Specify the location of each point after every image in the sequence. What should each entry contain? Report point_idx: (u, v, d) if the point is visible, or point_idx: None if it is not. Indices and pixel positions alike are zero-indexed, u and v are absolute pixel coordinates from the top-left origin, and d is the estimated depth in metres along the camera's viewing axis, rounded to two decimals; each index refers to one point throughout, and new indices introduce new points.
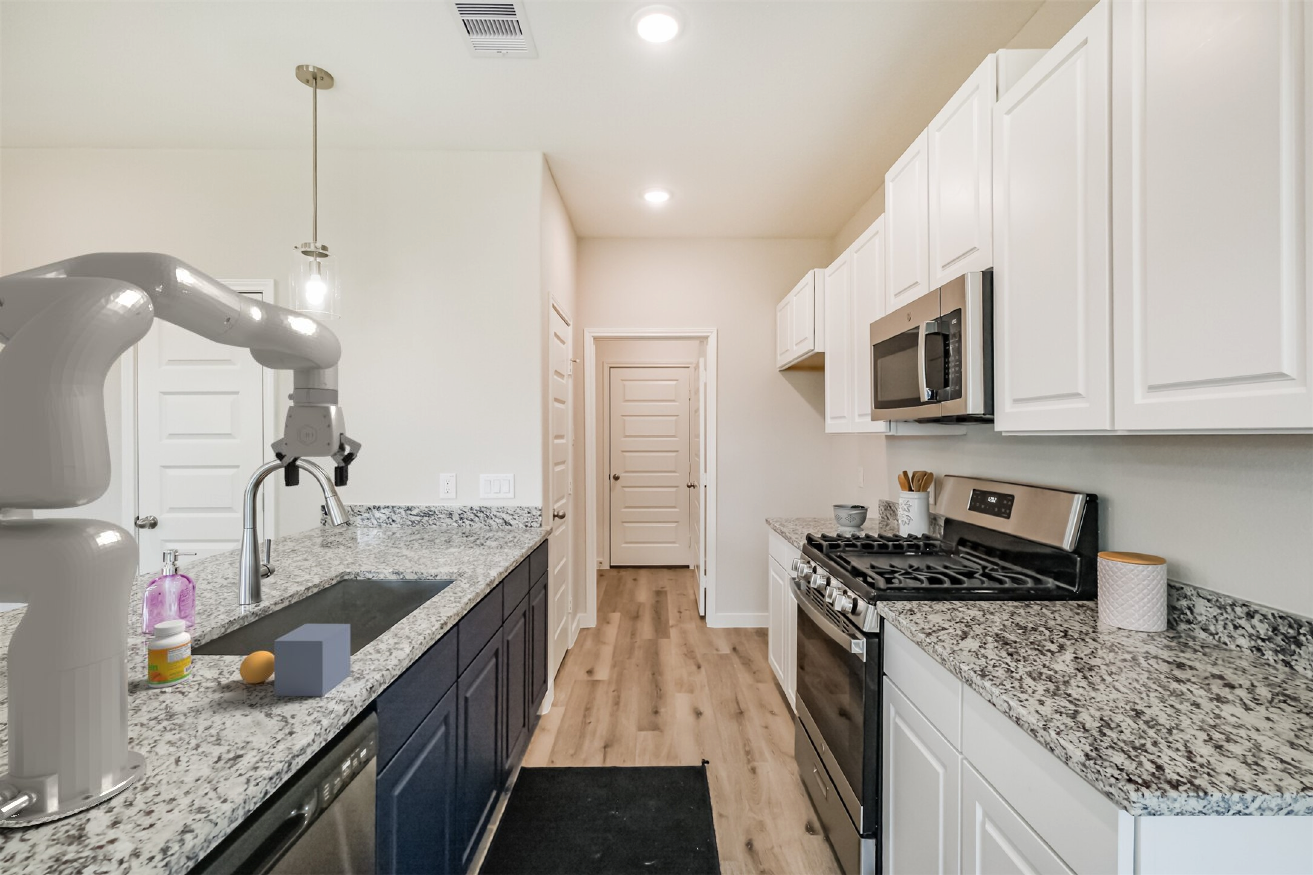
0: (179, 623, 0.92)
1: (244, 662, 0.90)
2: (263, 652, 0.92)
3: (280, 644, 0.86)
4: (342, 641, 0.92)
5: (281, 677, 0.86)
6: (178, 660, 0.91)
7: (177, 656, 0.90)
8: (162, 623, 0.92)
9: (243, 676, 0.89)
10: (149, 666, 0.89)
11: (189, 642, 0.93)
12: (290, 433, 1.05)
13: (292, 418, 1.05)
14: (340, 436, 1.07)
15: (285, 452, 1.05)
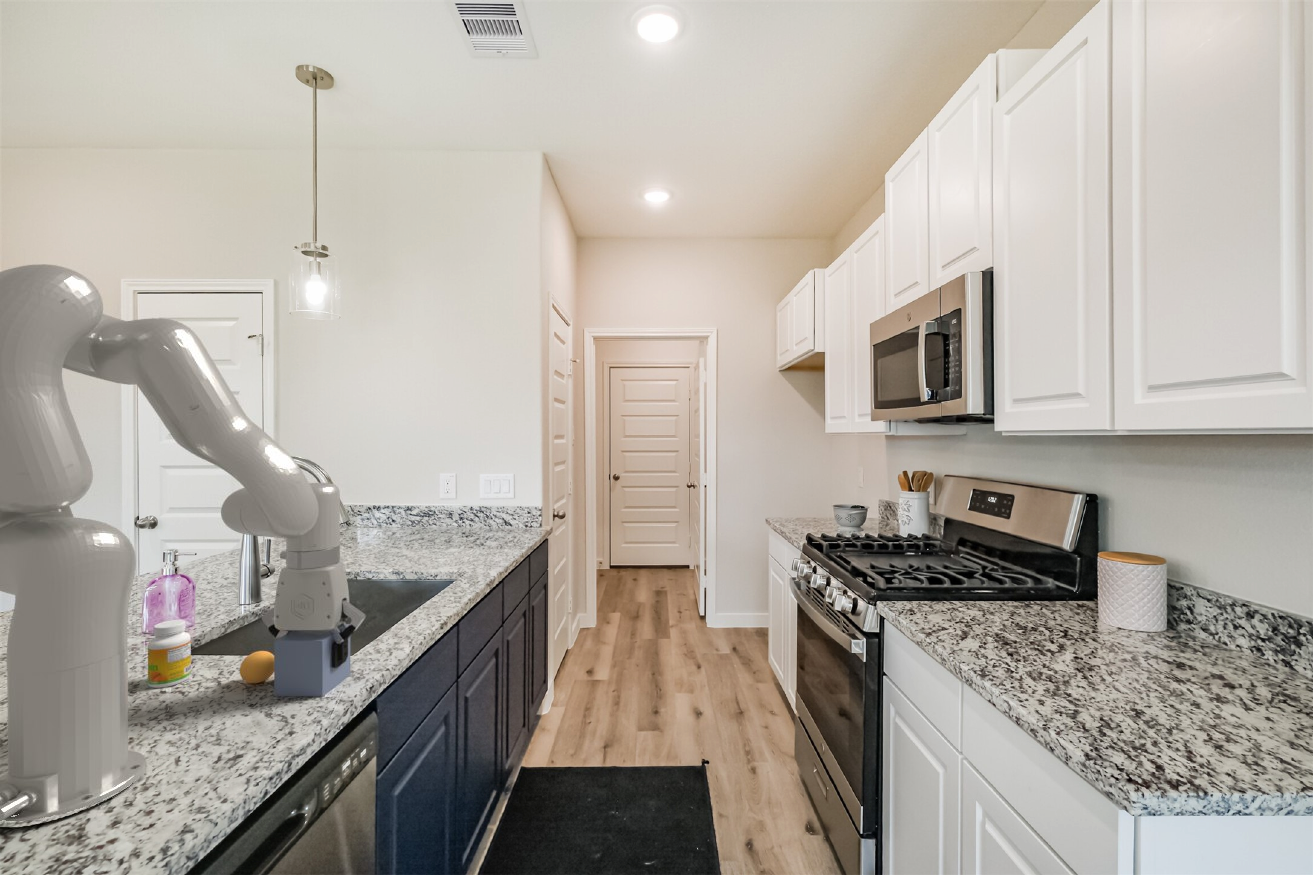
0: (179, 623, 0.92)
1: (244, 662, 0.90)
2: (263, 652, 0.92)
3: (280, 644, 0.86)
4: None
5: (281, 677, 0.86)
6: (178, 660, 0.91)
7: (177, 656, 0.90)
8: (162, 623, 0.92)
9: (243, 676, 0.89)
10: (149, 666, 0.89)
11: (189, 642, 0.93)
12: (282, 604, 0.88)
13: (285, 585, 0.88)
14: (342, 603, 0.90)
15: (276, 626, 0.88)
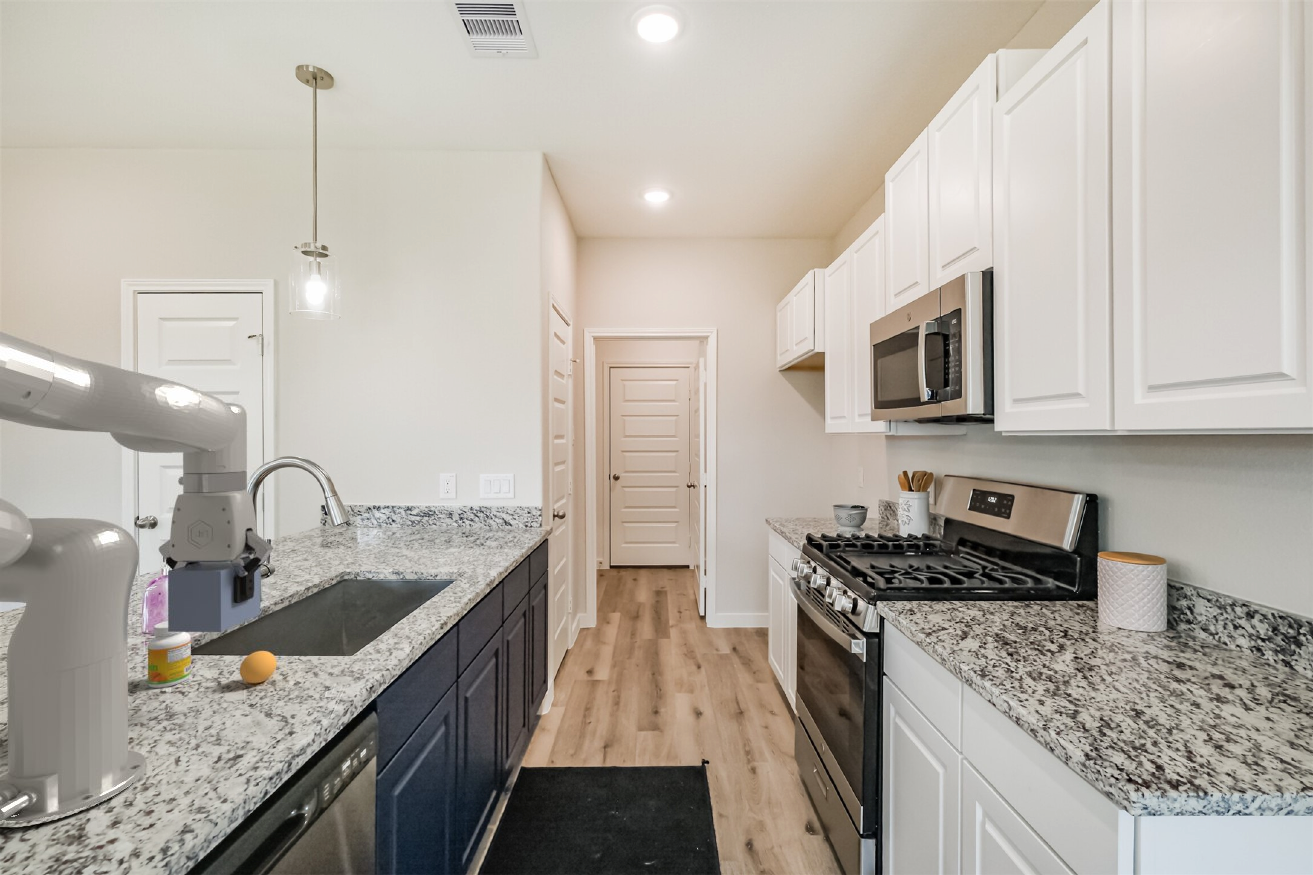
0: None
1: (244, 662, 0.90)
2: (263, 652, 0.92)
3: (174, 575, 0.79)
4: None
5: (175, 611, 0.79)
6: (178, 660, 0.91)
7: (177, 656, 0.90)
8: (162, 623, 0.92)
9: (243, 676, 0.89)
10: (149, 666, 0.89)
11: (189, 642, 0.93)
12: (177, 532, 0.80)
13: (181, 512, 0.80)
14: (246, 533, 0.82)
15: (172, 556, 0.80)
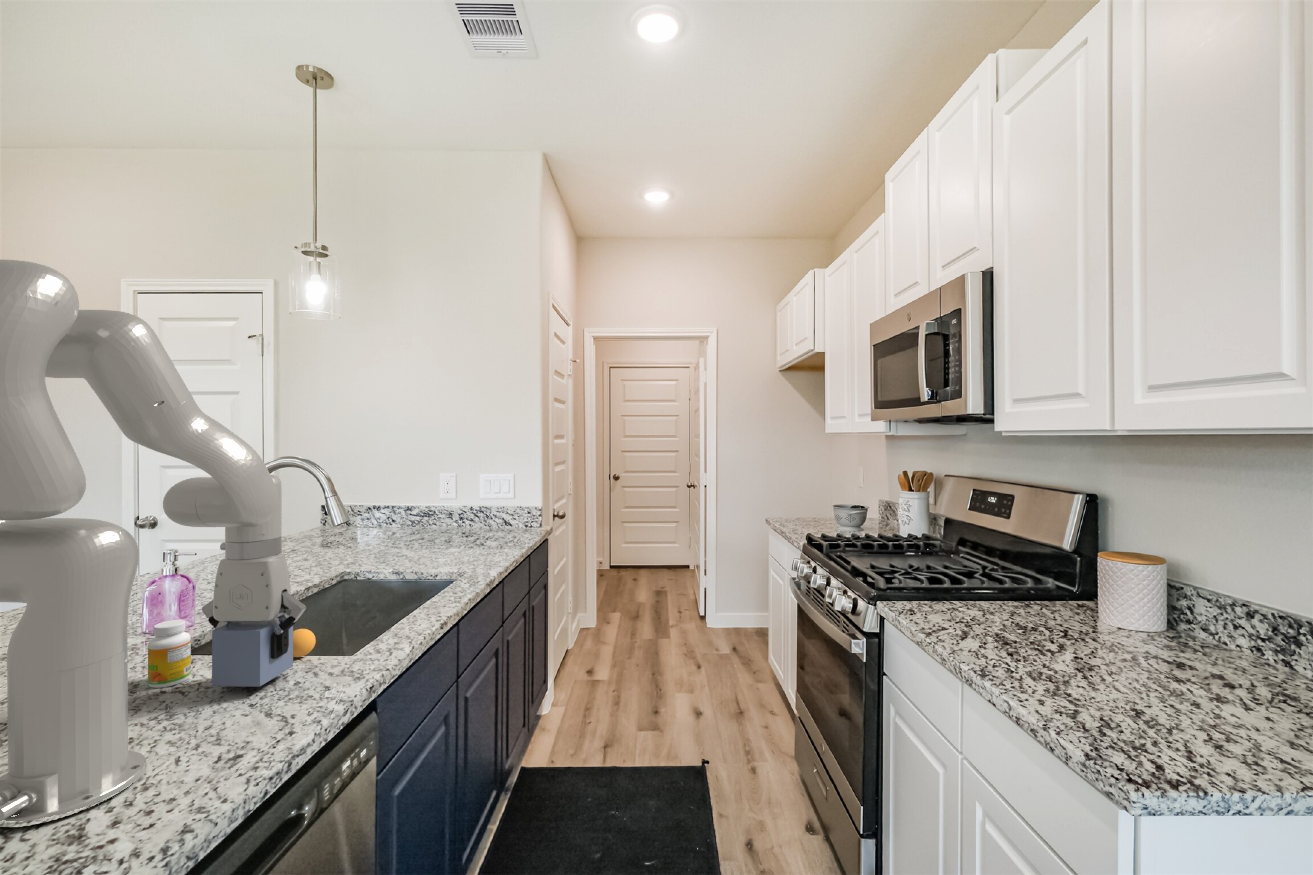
0: (179, 623, 0.92)
1: None
2: (296, 653, 1.00)
3: (218, 634, 0.87)
4: None
5: (219, 667, 0.87)
6: (178, 660, 0.91)
7: (177, 656, 0.90)
8: (162, 623, 0.92)
9: None
10: (149, 666, 0.89)
11: (189, 642, 0.93)
12: (220, 595, 0.88)
13: (223, 576, 0.88)
14: (282, 594, 0.90)
15: (215, 617, 0.88)
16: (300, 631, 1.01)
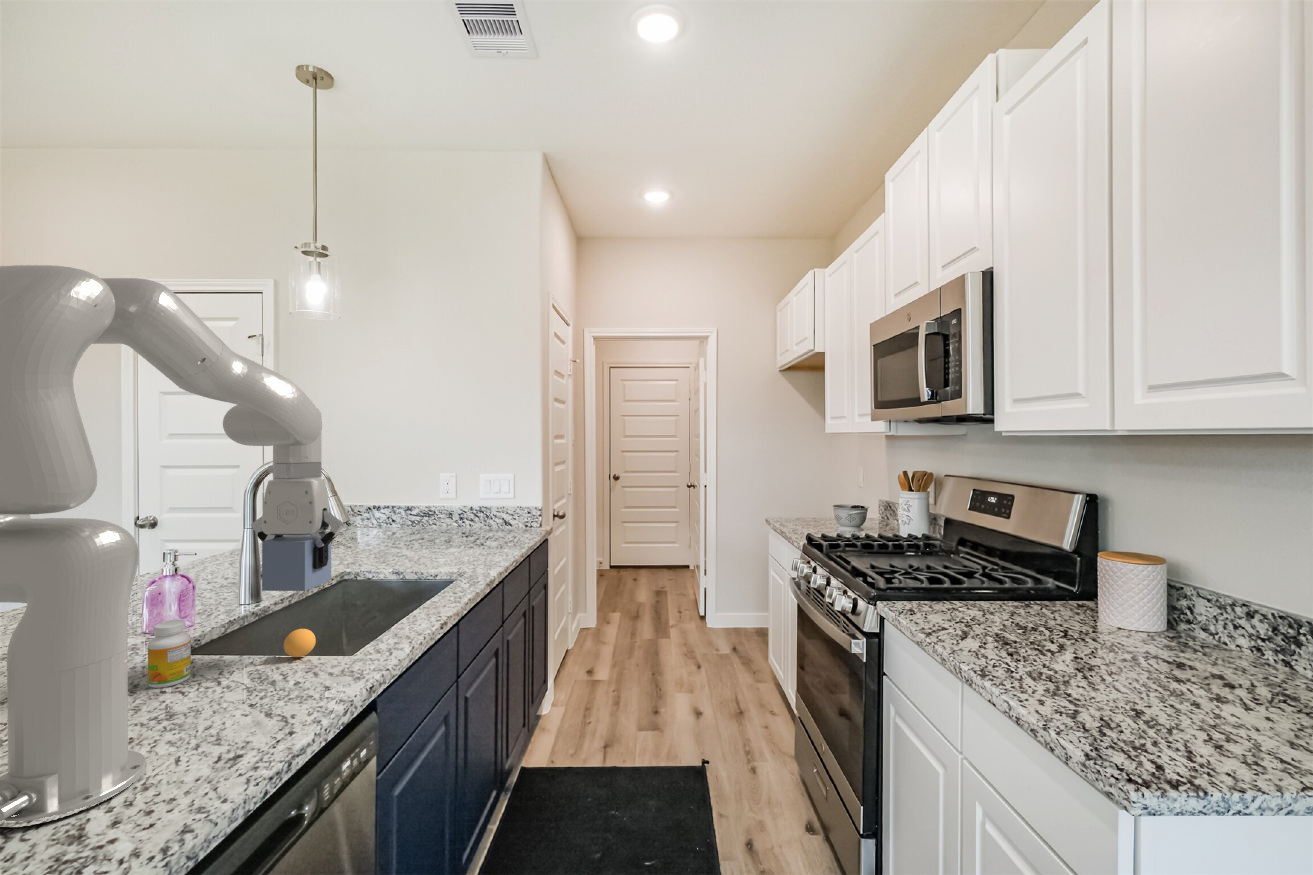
0: (179, 623, 0.92)
1: None
2: (296, 653, 1.00)
3: (267, 544, 0.98)
4: None
5: (268, 574, 0.97)
6: (178, 660, 0.91)
7: (177, 656, 0.90)
8: (162, 623, 0.92)
9: None
10: (149, 666, 0.89)
11: (189, 642, 0.93)
12: (269, 511, 0.99)
13: (271, 494, 0.99)
14: (323, 512, 1.00)
15: (264, 530, 0.99)
16: (300, 631, 1.01)
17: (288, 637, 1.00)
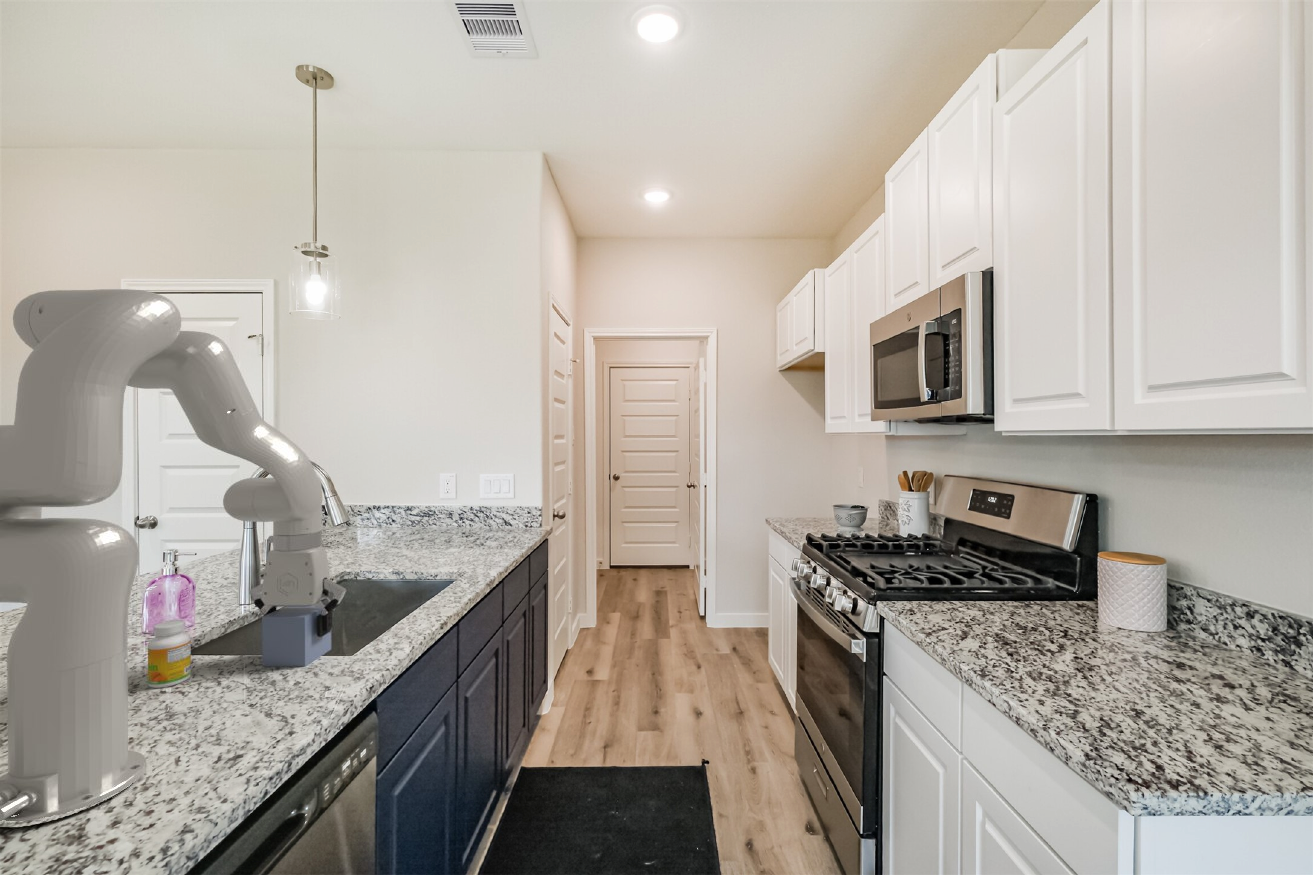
0: (179, 623, 0.92)
1: None
2: None
3: (267, 620, 0.98)
4: None
5: (268, 649, 0.98)
6: (178, 660, 0.91)
7: (177, 656, 0.90)
8: (162, 623, 0.92)
9: None
10: (149, 666, 0.89)
11: (189, 642, 0.93)
12: (269, 582, 0.99)
13: (272, 566, 0.99)
14: (323, 582, 1.01)
15: (264, 602, 0.99)
16: None
17: None
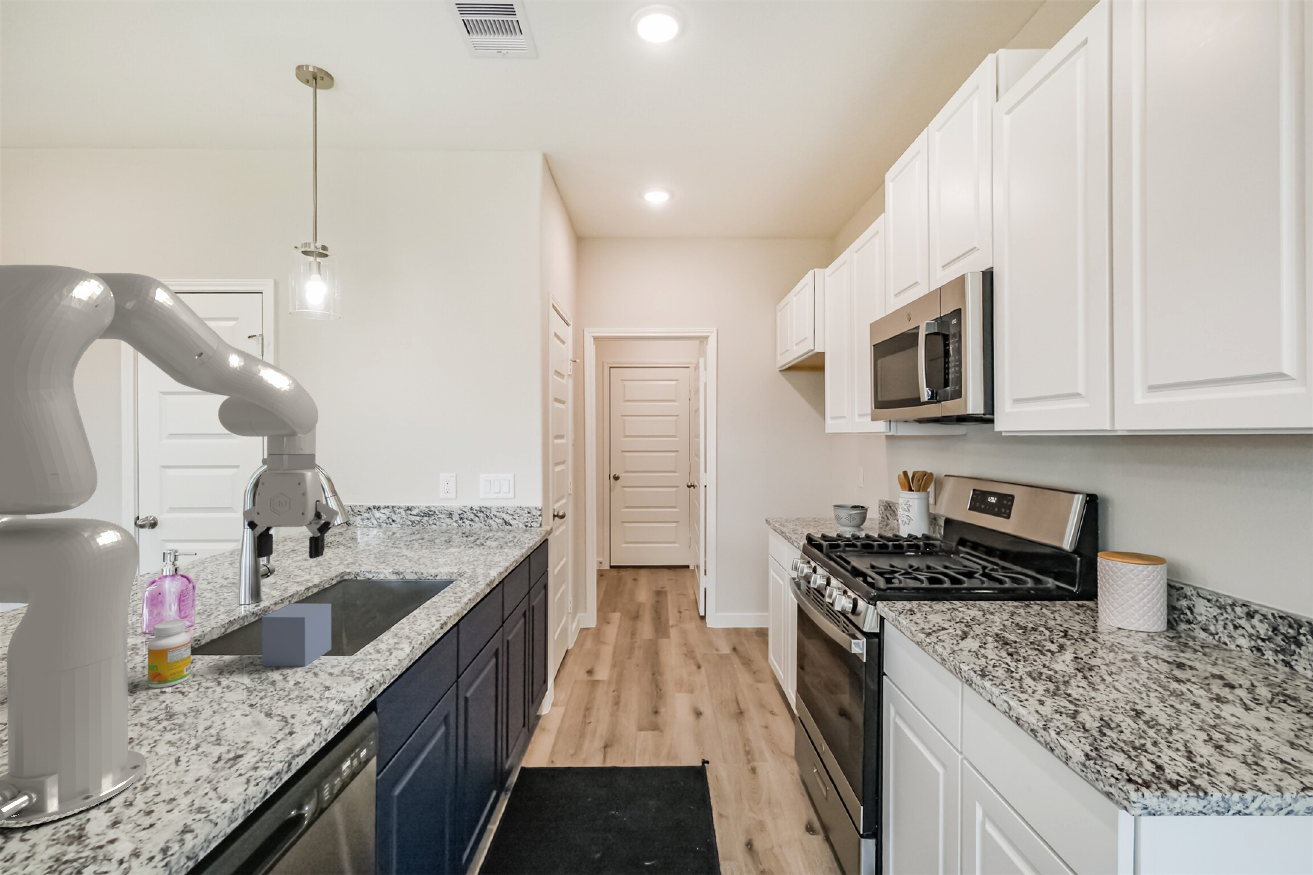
0: (179, 623, 0.92)
1: None
2: None
3: (267, 620, 0.98)
4: (323, 618, 1.03)
5: (268, 649, 0.98)
6: (178, 660, 0.91)
7: (177, 656, 0.90)
8: (162, 623, 0.92)
9: None
10: (149, 666, 0.89)
11: (189, 642, 0.93)
12: (262, 502, 0.99)
13: (265, 486, 0.99)
14: (316, 504, 1.00)
15: (257, 522, 0.99)
16: None
17: None
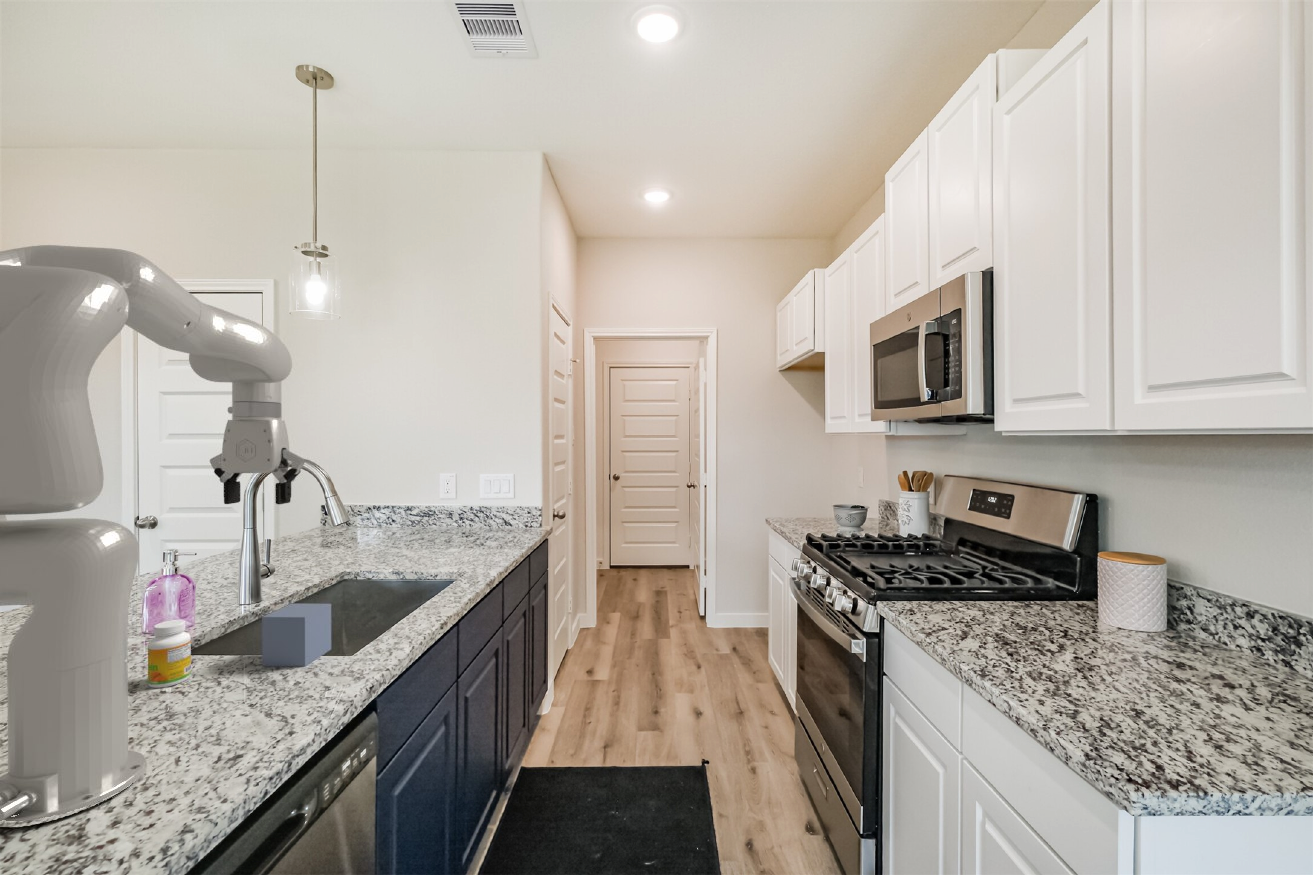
0: (179, 623, 0.92)
1: None
2: None
3: (267, 620, 0.98)
4: (323, 618, 1.03)
5: (268, 649, 0.98)
6: (178, 660, 0.91)
7: (177, 656, 0.90)
8: (162, 623, 0.92)
9: None
10: (149, 666, 0.89)
11: (189, 642, 0.93)
12: (228, 449, 1.01)
13: (230, 433, 1.01)
14: (282, 451, 1.03)
15: (223, 468, 1.01)
16: None
17: None
